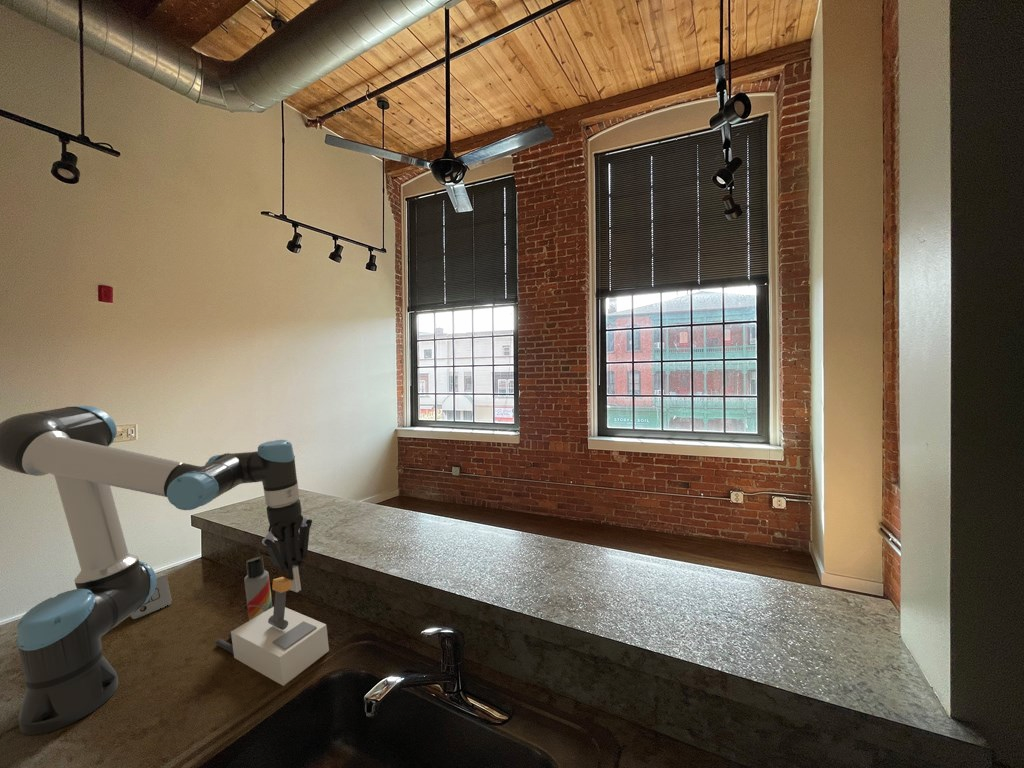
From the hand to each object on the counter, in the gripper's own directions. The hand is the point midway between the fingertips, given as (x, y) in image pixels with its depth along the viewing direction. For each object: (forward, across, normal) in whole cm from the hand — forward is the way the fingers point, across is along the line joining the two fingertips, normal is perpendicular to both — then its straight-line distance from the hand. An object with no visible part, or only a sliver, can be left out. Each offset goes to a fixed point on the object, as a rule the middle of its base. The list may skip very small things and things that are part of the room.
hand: (295, 589), depth 108 cm
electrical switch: (+14, -11, +56) cm, 59 cm away
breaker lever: (+5, -6, 0) cm, 8 cm away
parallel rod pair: (+14, -9, +14) cm, 22 cm away
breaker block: (+14, -6, 0) cm, 15 cm away
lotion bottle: (+14, -2, +15) cm, 21 cm away
